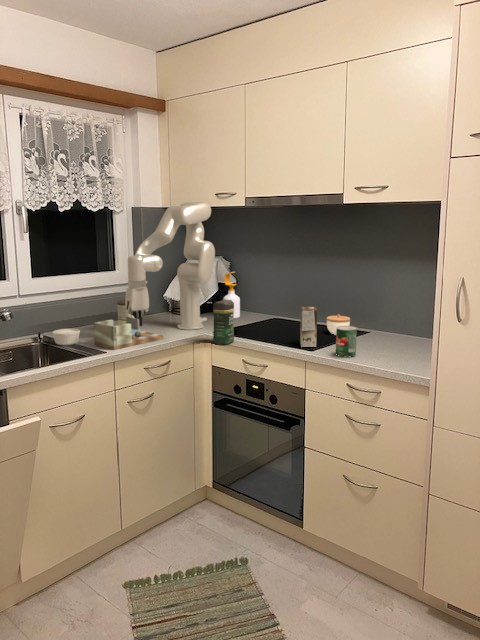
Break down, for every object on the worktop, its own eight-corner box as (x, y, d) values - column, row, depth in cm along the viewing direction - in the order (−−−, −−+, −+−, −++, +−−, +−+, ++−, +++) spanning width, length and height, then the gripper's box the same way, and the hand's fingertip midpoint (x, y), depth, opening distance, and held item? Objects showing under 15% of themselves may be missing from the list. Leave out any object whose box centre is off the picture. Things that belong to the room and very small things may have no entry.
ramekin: (85, 340, 236) (84, 328, 235) (72, 346, 225) (71, 334, 224) (62, 339, 238) (61, 327, 237) (48, 345, 228) (47, 333, 227)
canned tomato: (332, 355, 210) (333, 328, 208) (339, 351, 216) (340, 324, 214) (351, 358, 206) (352, 330, 204) (358, 354, 212) (359, 326, 210)
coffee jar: (227, 346, 225) (227, 302, 222) (210, 344, 229) (210, 301, 225) (237, 341, 234) (236, 299, 230) (220, 339, 237) (220, 298, 234)
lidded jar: (354, 334, 247) (355, 314, 245) (339, 337, 240) (339, 317, 238) (336, 330, 255) (337, 311, 253) (321, 333, 248) (321, 313, 246)
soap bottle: (234, 319, 282) (233, 272, 278) (219, 317, 287) (219, 271, 282) (243, 316, 290) (243, 271, 285) (229, 314, 295) (229, 270, 290)
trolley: (127, 333, 238) (126, 316, 236) (141, 336, 231) (140, 319, 230) (108, 337, 231) (107, 319, 229) (122, 340, 224) (121, 322, 223)
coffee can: (122, 327, 261) (120, 299, 259) (142, 328, 260) (141, 299, 258) (115, 332, 251) (113, 302, 249) (136, 333, 250) (135, 303, 248)
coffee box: (316, 348, 222) (317, 310, 219) (301, 348, 222) (302, 309, 219) (314, 342, 231) (315, 306, 228) (299, 342, 231) (300, 306, 228)
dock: (143, 334, 247) (142, 314, 245) (163, 338, 238) (162, 318, 236) (94, 344, 228) (93, 322, 226) (114, 349, 219) (113, 327, 217)
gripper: (145, 282, 240) (146, 322, 244) (117, 285, 229) (119, 327, 233) (156, 283, 235) (157, 324, 239) (128, 286, 224) (129, 329, 228)
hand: (138, 325), depth 236 cm, fingers closed
